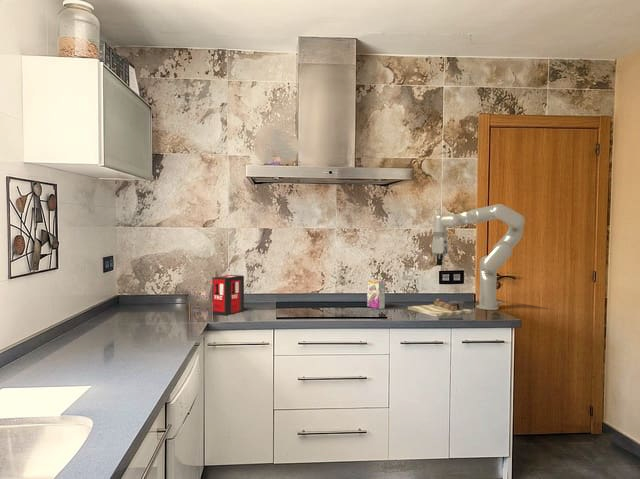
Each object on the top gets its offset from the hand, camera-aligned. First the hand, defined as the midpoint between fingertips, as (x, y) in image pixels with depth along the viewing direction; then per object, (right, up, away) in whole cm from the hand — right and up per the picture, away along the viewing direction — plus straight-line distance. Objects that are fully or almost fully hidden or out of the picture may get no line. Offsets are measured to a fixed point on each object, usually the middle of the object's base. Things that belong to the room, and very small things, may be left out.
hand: (439, 265), depth 300 cm
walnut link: (0, -24, -13) cm, 27 cm away
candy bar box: (-39, -25, -7) cm, 47 cm away
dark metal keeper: (+5, -24, -19) cm, 31 cm away
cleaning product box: (-123, -25, -28) cm, 129 cm away
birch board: (-4, -26, -16) cm, 30 cm away
